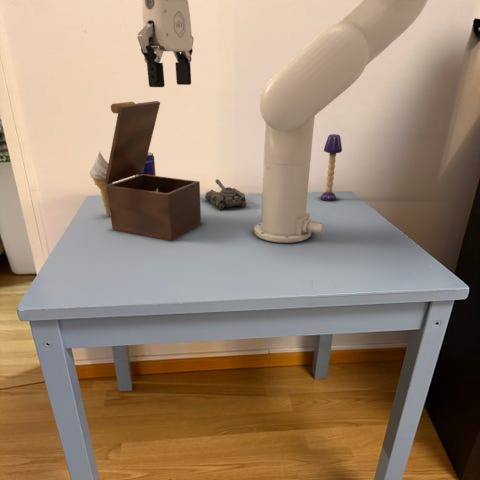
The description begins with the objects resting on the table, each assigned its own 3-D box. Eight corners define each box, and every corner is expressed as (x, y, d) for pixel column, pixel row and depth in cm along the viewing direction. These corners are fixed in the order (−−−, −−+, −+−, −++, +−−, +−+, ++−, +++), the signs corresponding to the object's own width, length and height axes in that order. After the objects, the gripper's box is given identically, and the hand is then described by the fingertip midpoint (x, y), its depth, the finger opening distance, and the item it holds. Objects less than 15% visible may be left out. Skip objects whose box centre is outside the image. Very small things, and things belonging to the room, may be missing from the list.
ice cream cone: (124, 214, 111) (116, 150, 104) (112, 221, 107) (102, 154, 99) (105, 212, 113) (96, 148, 105) (91, 218, 108) (81, 152, 101)
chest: (201, 224, 105) (199, 181, 100) (171, 241, 96) (168, 194, 91) (145, 214, 111) (142, 173, 106) (112, 229, 101) (106, 185, 96)
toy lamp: (337, 201, 123) (345, 136, 114) (320, 201, 123) (326, 136, 115) (334, 197, 127) (341, 133, 119) (317, 197, 127) (324, 133, 119)
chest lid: (160, 102, 96) (141, 91, 97) (122, 107, 86) (101, 94, 87) (143, 172, 106) (125, 162, 107) (107, 184, 96) (88, 172, 97)
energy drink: (155, 203, 120) (151, 156, 114) (135, 203, 120) (130, 155, 114) (159, 198, 124) (155, 152, 118) (139, 197, 124) (135, 151, 118)
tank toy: (201, 199, 123) (200, 180, 121) (233, 196, 127) (233, 177, 124) (216, 212, 114) (216, 191, 111) (250, 208, 117) (251, 187, 114)
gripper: (152, -31, 73) (162, 88, 81) (205, -17, 86) (208, 84, 95) (115, -27, 76) (128, 87, 84) (171, -15, 89) (178, 83, 98)
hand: (171, 85), depth 90 cm, fingers open, 9 cm apart
